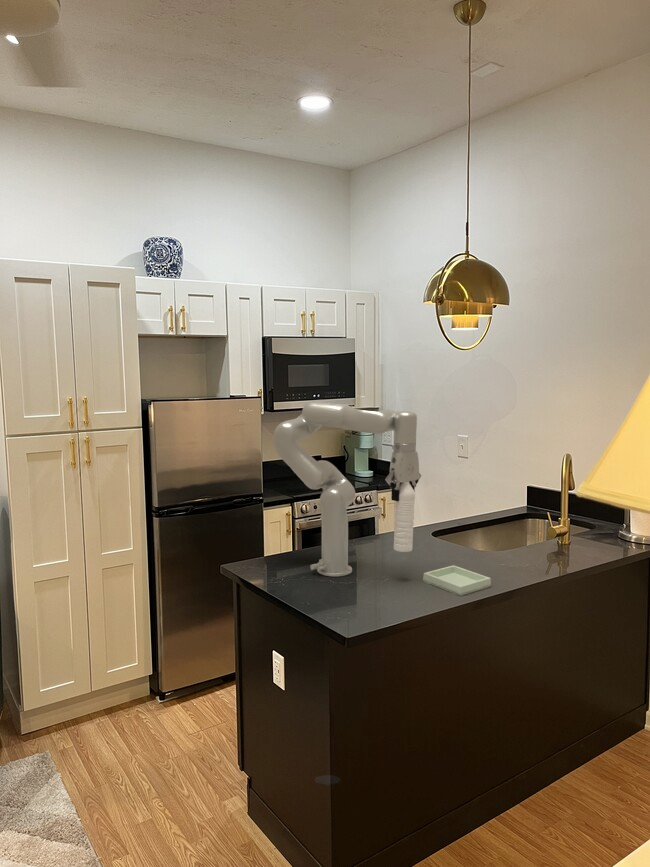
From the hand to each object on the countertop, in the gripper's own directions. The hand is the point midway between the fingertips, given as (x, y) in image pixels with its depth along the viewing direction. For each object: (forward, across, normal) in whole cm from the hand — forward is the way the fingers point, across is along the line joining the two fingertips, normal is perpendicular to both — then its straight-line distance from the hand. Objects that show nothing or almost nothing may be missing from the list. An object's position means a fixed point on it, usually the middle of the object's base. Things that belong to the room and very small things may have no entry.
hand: (402, 498), depth 224 cm
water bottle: (+18, 0, 0) cm, 18 cm away
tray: (+28, +12, -15) cm, 34 cm away
